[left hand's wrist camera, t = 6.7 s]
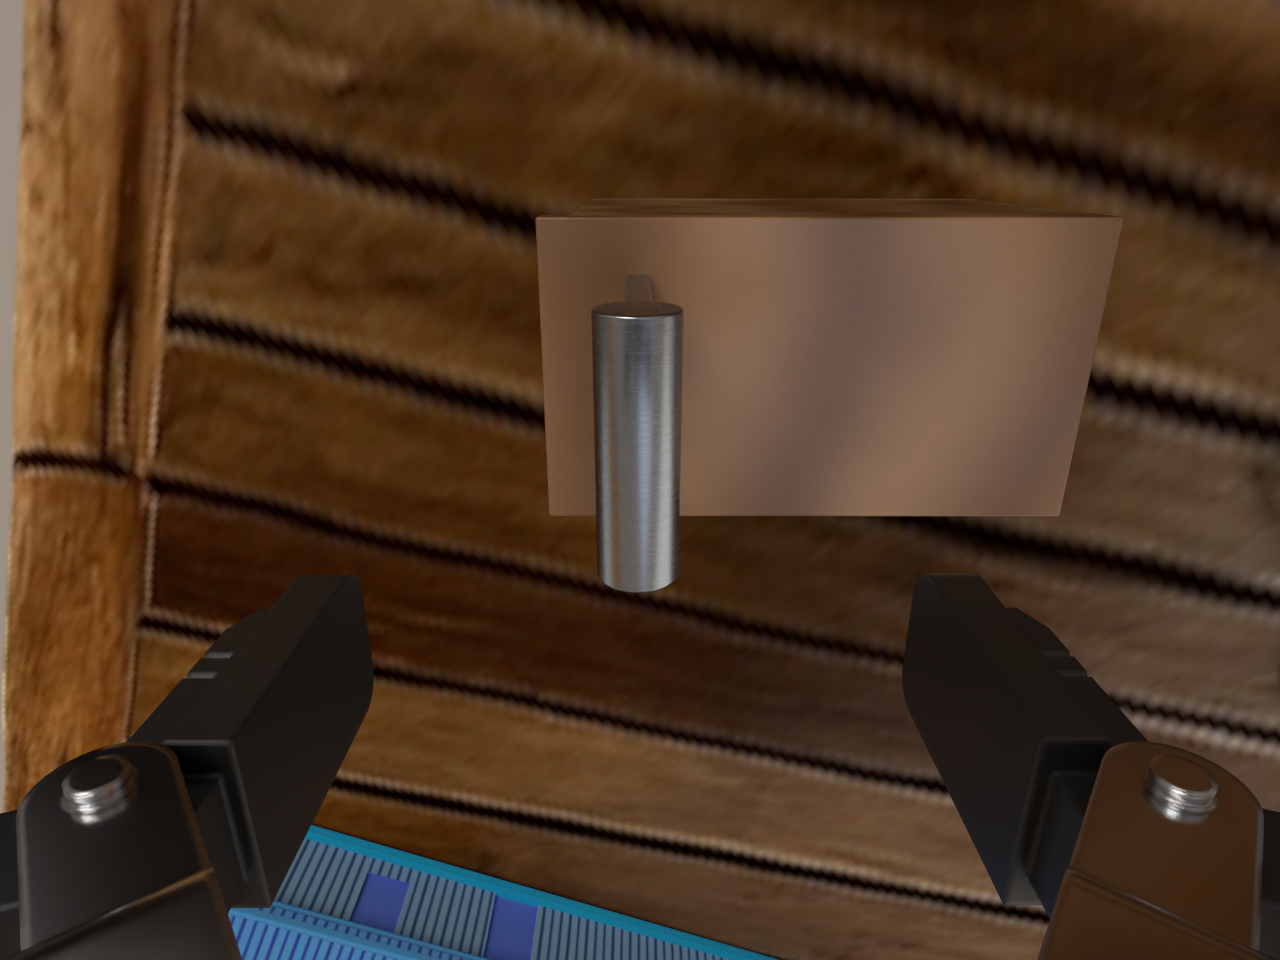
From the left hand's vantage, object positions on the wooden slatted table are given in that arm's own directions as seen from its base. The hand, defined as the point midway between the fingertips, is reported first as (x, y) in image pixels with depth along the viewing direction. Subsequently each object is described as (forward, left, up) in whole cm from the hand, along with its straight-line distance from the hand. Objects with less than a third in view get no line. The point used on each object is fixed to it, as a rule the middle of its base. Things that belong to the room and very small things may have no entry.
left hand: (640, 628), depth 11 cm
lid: (-2, +5, -15) cm, 16 cm away
